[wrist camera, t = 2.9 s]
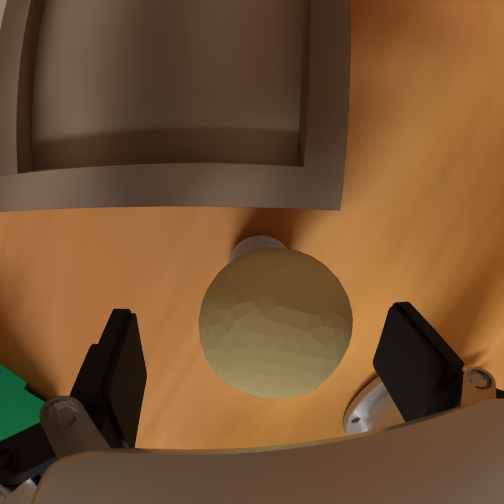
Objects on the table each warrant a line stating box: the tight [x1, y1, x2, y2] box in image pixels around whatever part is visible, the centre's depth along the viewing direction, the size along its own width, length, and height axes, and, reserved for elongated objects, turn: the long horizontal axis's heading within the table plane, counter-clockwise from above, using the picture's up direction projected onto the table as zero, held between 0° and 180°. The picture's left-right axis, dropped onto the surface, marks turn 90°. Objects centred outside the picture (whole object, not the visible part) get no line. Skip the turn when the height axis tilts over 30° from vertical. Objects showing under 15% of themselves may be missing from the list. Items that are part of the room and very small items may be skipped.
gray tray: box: [0, 0, 351, 212], centre depth 12 cm, size 14×14×7 cm
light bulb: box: [199, 235, 353, 399], centre depth 15 cm, size 6×6×10 cm
